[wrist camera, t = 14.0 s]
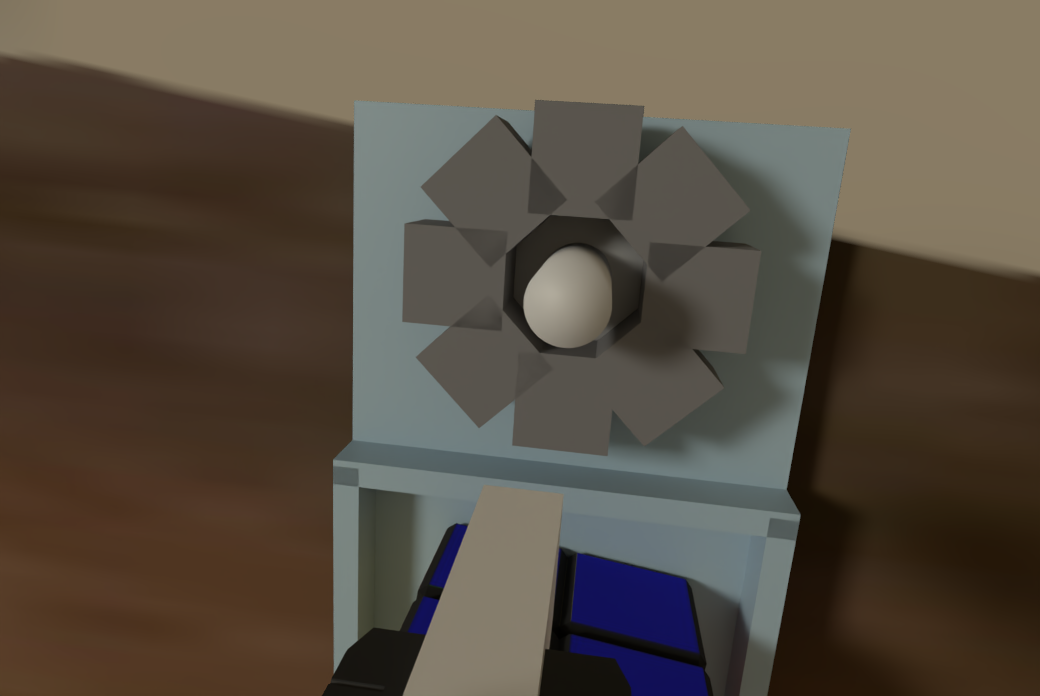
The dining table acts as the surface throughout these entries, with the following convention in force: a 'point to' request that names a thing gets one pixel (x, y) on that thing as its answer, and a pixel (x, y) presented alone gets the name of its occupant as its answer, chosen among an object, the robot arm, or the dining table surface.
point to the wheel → (645, 225)
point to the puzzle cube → (604, 618)
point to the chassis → (629, 465)
